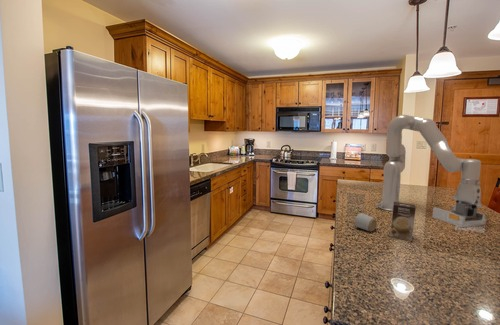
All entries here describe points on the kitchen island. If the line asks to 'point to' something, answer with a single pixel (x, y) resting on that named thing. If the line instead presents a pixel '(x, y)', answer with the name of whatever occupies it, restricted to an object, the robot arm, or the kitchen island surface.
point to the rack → (457, 217)
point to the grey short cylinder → (365, 222)
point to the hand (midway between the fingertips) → (465, 214)
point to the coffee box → (402, 221)
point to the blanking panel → (464, 210)
